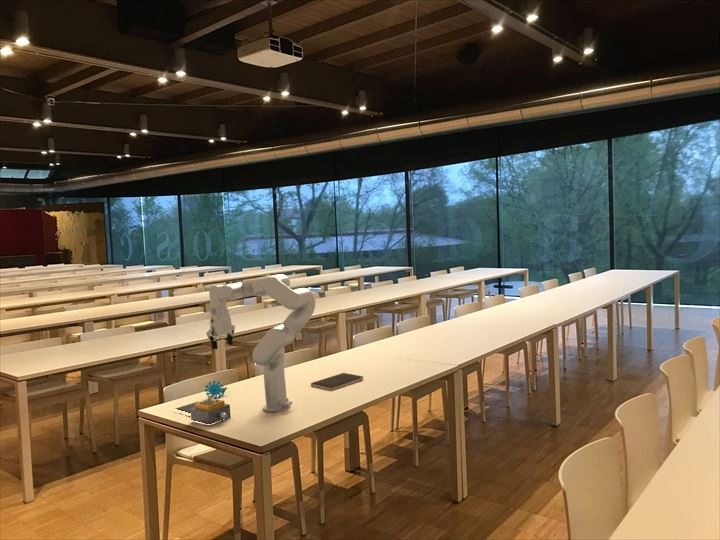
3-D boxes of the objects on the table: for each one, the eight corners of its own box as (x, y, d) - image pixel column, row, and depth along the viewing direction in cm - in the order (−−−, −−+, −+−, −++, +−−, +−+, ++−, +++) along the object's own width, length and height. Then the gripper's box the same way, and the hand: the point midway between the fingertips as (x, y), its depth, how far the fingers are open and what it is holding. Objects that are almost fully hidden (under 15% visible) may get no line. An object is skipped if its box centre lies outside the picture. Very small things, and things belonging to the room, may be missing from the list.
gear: (205, 397, 285) (204, 380, 291) (204, 404, 289) (202, 386, 295) (228, 396, 290) (226, 379, 296) (226, 402, 293) (224, 386, 300)
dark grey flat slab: (220, 406, 269) (191, 415, 259) (220, 410, 270) (191, 420, 259) (198, 400, 283) (169, 408, 273) (198, 403, 284) (170, 412, 273)
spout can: (219, 418, 255) (217, 394, 255) (210, 422, 251) (208, 397, 251) (211, 417, 258) (209, 393, 258) (203, 420, 254) (201, 396, 254)
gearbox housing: (236, 418, 254) (235, 401, 253) (215, 427, 244) (213, 409, 244) (213, 414, 263) (211, 396, 263) (191, 422, 254) (189, 404, 253)
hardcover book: (363, 380, 304) (363, 376, 304) (331, 391, 288) (331, 387, 288) (343, 376, 315) (342, 372, 315) (311, 387, 299) (310, 382, 299)
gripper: (210, 314, 262) (214, 351, 263) (238, 308, 276) (241, 343, 277) (199, 313, 266) (203, 350, 267) (227, 308, 280) (230, 342, 281)
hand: (222, 346), depth 272 cm, fingers open, 9 cm apart
